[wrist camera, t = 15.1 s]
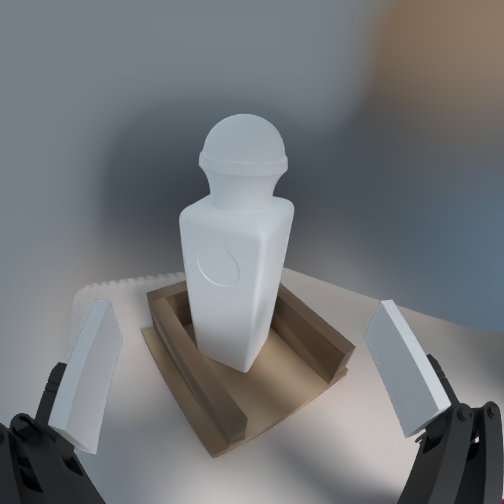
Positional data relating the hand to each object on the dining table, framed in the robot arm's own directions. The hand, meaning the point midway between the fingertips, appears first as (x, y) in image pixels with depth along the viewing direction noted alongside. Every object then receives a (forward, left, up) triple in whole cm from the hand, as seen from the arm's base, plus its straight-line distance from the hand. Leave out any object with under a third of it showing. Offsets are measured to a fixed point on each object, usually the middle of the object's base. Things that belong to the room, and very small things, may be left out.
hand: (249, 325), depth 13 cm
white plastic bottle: (-5, -8, -14) cm, 17 cm away
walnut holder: (-5, -7, -14) cm, 17 cm away
